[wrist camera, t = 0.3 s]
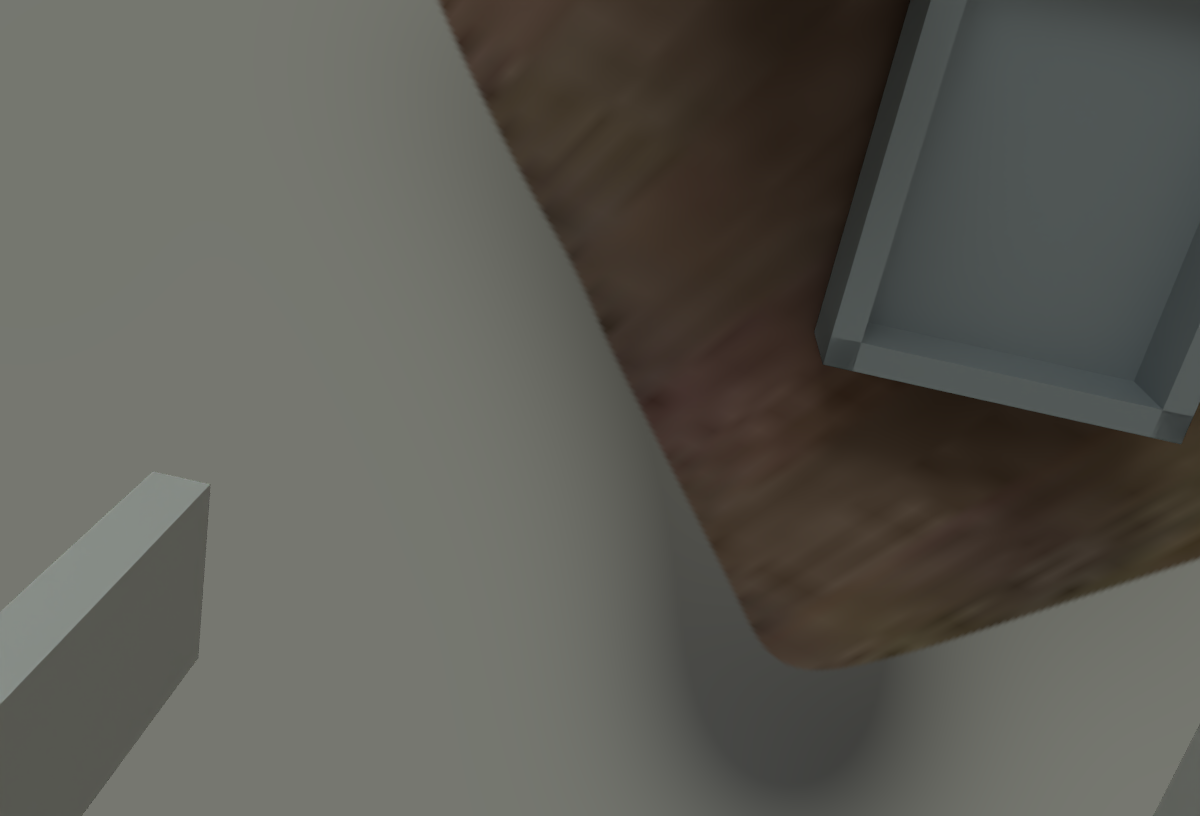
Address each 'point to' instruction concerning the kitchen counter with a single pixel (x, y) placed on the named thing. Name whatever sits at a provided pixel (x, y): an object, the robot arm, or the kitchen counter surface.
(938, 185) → the tray
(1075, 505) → the kitchen counter surface
